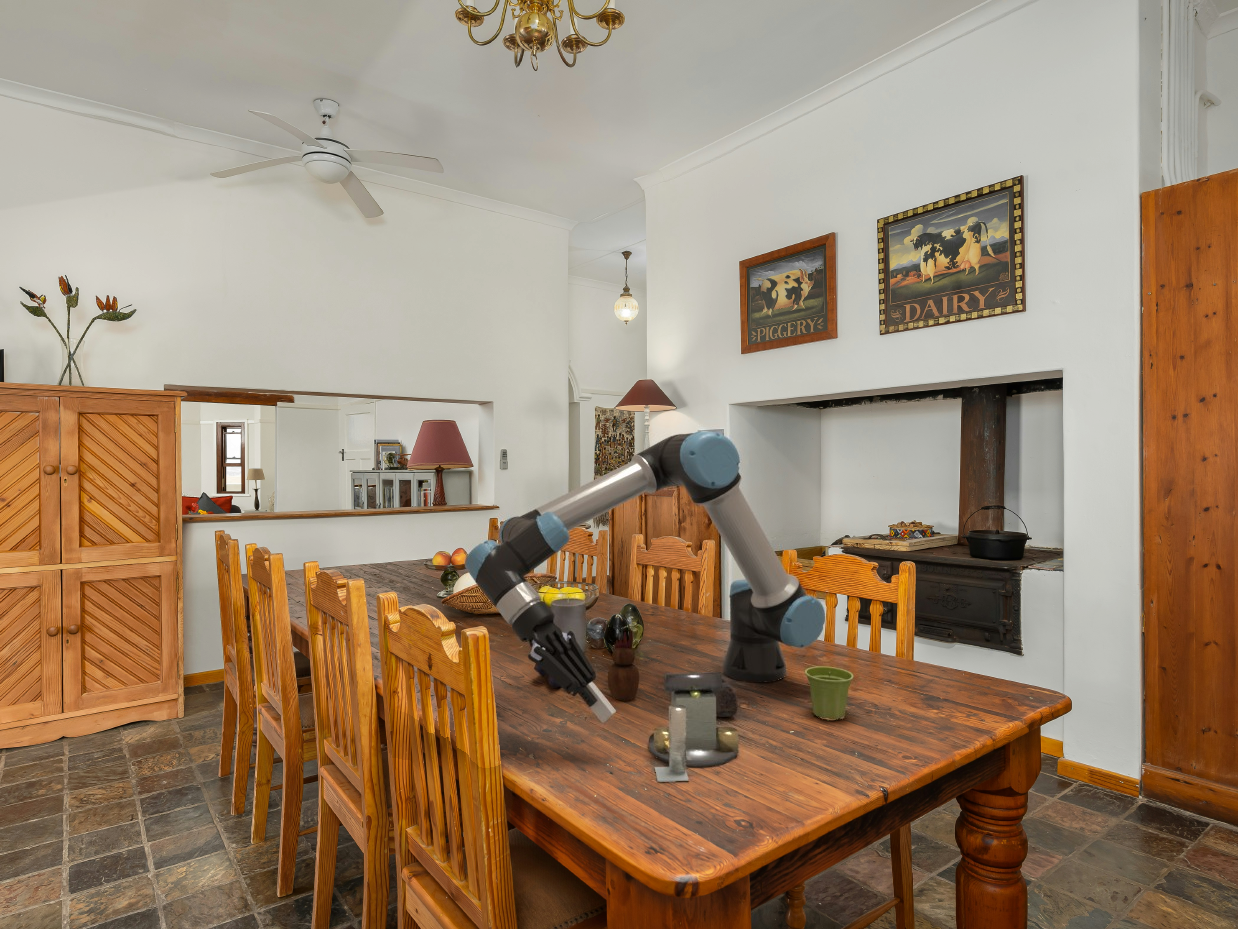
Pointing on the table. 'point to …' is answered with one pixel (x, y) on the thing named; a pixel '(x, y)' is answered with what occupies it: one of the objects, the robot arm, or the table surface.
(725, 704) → the perforated stone tool
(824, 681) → the plant pot
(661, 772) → the pad
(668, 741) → the lever
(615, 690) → the wooden figurine
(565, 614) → the pillar candle
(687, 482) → the robot arm
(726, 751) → the tribrach
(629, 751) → the table surface
